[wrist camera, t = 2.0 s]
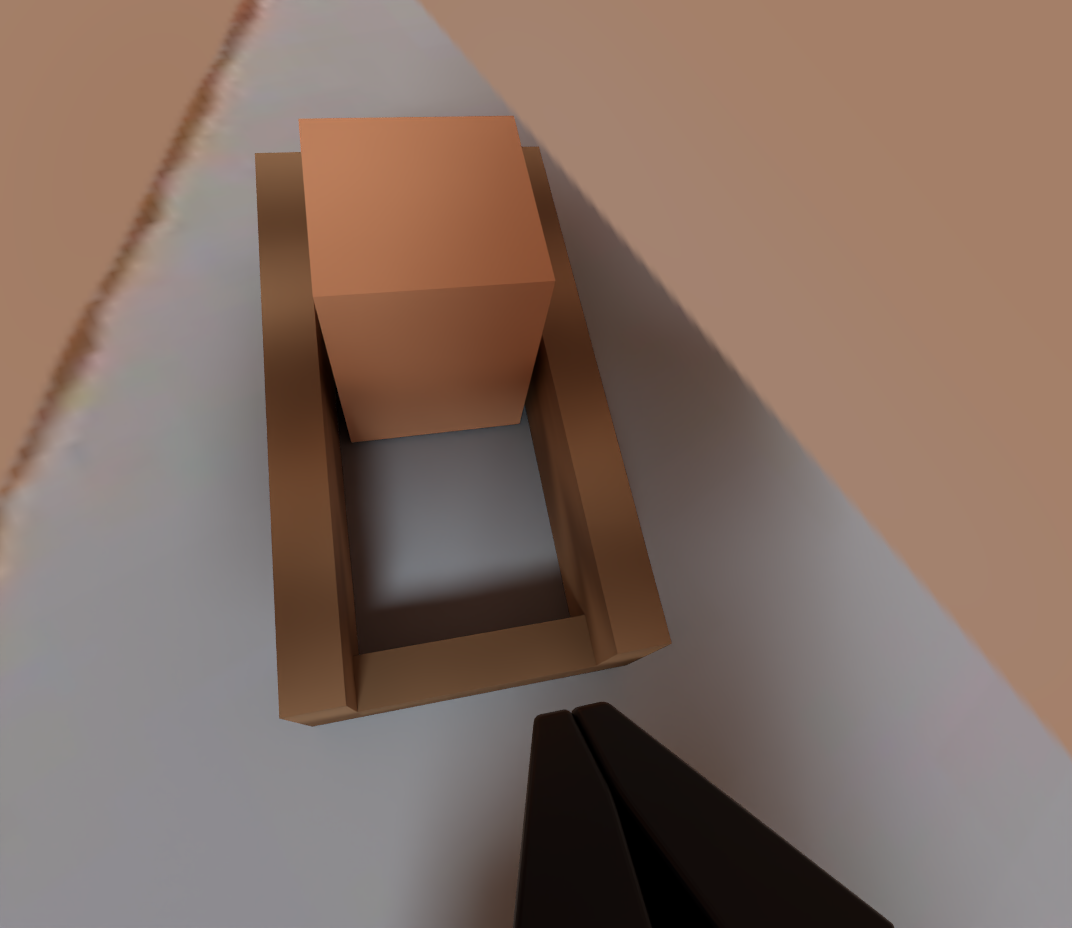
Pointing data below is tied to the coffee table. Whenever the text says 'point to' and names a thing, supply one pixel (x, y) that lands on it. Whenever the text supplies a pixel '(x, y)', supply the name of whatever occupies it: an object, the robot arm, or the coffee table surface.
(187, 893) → the coffee table surface
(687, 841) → the robot arm
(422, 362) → the terracotta block
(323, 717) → the walnut chute
